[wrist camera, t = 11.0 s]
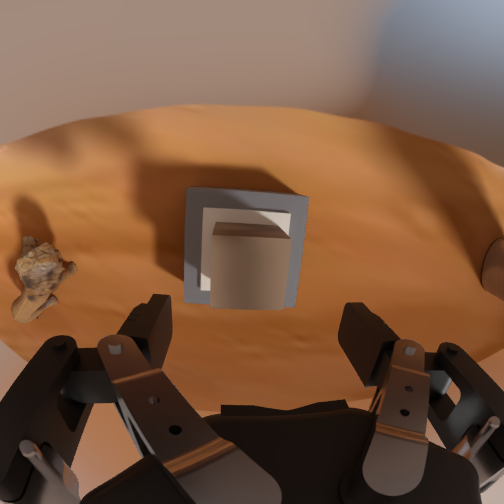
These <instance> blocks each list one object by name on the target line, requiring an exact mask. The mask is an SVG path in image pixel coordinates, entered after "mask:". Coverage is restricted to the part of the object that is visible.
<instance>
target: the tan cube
mask: <svg viewBox="0 0 504 504" xmlns="http://www.w3.org/2000/svg"><path fill="white" fill-rule="evenodd" d="M291 242H292V239H291V238H290V237H289V236H288V235H287V234H286V233H285V232H284V231H283V230H282V229H281V228H280V227H279V226H278V225H265V224H247V223H229V222H216V223H215V226H214V230H213V233H212V245H211V281H210V308H221V309H249V310H283V309H284V301H285V293H286V285H287V277H288V268H289V260H290V251H291Z"/></svg>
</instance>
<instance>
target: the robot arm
mask: <svg viewBox="0 0 504 504" xmlns="http://www.w3.org/2000/svg"><path fill="white" fill-rule="evenodd" d="M482 285H483V288H484V289H485V290H486V291H487V292H489V293H491V294H493V295H494V296H496V297H498V298H499V299H501V300H503V301H504V240H503V239H498V240H496V241H495V242H494V243H493V244H492V246H491V247H490V249H489V251H488V253H487V255H486V258H485V261H484V264H483V269H482ZM171 338H172V309H171V297H170V295H162V294H153V295H152V297H151V299H150V300H149V302H148V303H147V304H144V303H141V304H140V305H138V306H136V307H135V308H134V309H133V310H132V312H131V313H130V315H129V316H128V317H127V319H126V320H125V322H124V323H123V325H122V327H121V328H120V330H119V331H118V333H117V334H115V335H109V336H106V337H104V338H102V339H101V340H100V341H99V342H98V344H97V347H96V348H78V347H77V344H76V341H75V340H74V339H73V338H72V337H70V336H66V335H59V336H54V337H52V338H50V339H48V340H47V341H46V342H45V343H44V344H43V345H42V346H41V348H40V349H39V350H38V351H37V353H36V354H35V355H34V356H33V358H32V359H31V360H30V361H29V363H28V364H27V365H26V367H25V368H24V369H23V371H22V372H21V373H20V375H19V376H18V377H17V379H16V380H15V381H14V383H13V384H12V386H11V387H10V389H9V390H8V391H7V393H6V394H5V396H4V397H3V399H2V400H1V402H0V501H1V502H3V503H4V504H482V502H481V496H480V493H483V492H484V491H486V490H487V489H488V488H489V487H490V486H492V485H493V484H494V483H495V482H496V481H497V480H498V479H499V478H501V477H502V476H503V475H504V391H503V390H502V389H501V388H500V387H499V386H498V385H497V384H496V383H495V382H494V381H493V379H492V378H491V377H490V376H489V375H488V374H487V373H486V372H485V371H484V370H483V369H482V368H481V367H480V366H479V365H478V364H477V363H476V362H475V361H474V360H473V359H472V358H471V357H470V356H469V355H468V354H467V353H466V352H465V351H464V350H463V349H462V348H461V347H459V346H458V345H456V344H453V343H448V342H445V343H441V344H440V345H439V348H438V350H437V352H436V353H431V352H425V350H424V348H423V346H422V345H420V344H419V343H417V342H416V341H413V340H409V339H400V338H399V337H398V336H397V335H396V334H395V333H394V331H393V330H392V329H391V328H389V326H388V325H387V324H386V323H385V322H384V321H383V320H382V319H381V318H380V317H379V316H377V315H376V314H374V313H372V312H371V311H370V310H369V309H368V308H367V307H366V306H365V305H364V304H363V303H362V302H350V303H346V305H345V307H344V311H343V315H342V319H341V323H340V327H339V331H338V341H339V344H340V346H341V347H342V349H343V351H344V352H345V354H346V355H347V357H348V359H349V360H350V362H351V364H352V366H353V367H354V369H355V371H356V372H357V374H358V376H359V377H360V379H361V381H362V382H363V384H364V386H365V387H371V386H377V389H376V391H375V393H374V396H373V398H372V401H371V404H370V407H369V410H368V411H366V410H362V409H357V408H349V407H348V405H347V403H346V401H345V399H344V400H336V401H327V402H317V403H314V404H311V405H307V406H304V407H300V408H296V409H293V410H278V409H272V408H265V407H259V406H254V405H221V414H215V415H210V416H206V417H204V418H202V417H201V416H200V415H199V414H198V413H197V412H196V411H195V410H194V408H193V407H192V406H191V405H190V404H189V403H188V401H187V400H186V399H185V398H184V397H183V396H182V394H181V393H180V392H179V391H178V390H177V388H176V387H175V386H174V385H173V383H172V382H171V381H170V380H169V378H168V377H167V376H166V374H165V373H164V372H163V371H162V366H163V363H164V360H165V357H166V354H167V350H168V347H169V344H170V341H171ZM452 381H453V382H454V383H455V384H456V386H457V387H458V388H459V389H460V392H461V397H460V400H459V402H458V404H457V405H455V404H454V403H453V401H452V400H451V399H450V397H449V396H448V395H447V394H446V391H447V389H448V388H449V386H450V384H451V383H452ZM94 403H114V405H115V408H116V409H117V412H118V413H119V416H120V417H121V420H122V421H123V423H124V425H125V427H126V429H127V431H128V432H129V434H130V436H131V438H132V440H133V442H134V444H135V446H136V448H137V450H138V452H139V453H140V455H141V457H142V459H141V460H139V461H138V462H136V463H135V464H133V465H132V466H130V467H129V468H127V469H126V470H124V471H123V472H121V473H120V474H118V475H116V476H115V477H113V478H112V479H110V480H108V481H107V482H105V483H103V484H102V485H100V486H98V487H97V488H95V489H93V490H92V491H90V492H89V493H88V494H86V495H85V496H84V497H83V499H82V500H80V497H79V492H78V491H79V483H78V479H77V477H76V475H75V474H74V473H73V471H72V470H71V469H70V468H71V465H72V462H73V459H74V456H75V453H76V450H77V447H78V444H79V442H80V439H81V436H82V433H83V431H84V428H85V425H86V422H87V420H88V417H89V415H90V412H91V409H92V407H93V405H94ZM427 418H428V419H429V421H430V422H431V424H432V426H433V427H434V429H435V430H436V432H437V434H438V435H439V437H440V439H441V440H442V442H443V444H444V446H445V447H446V449H445V448H443V447H440V446H438V445H436V444H434V443H432V442H430V441H428V439H427V438H426V437H425V432H426V425H427Z"/></svg>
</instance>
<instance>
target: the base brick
mask: <svg viewBox="0 0 504 504" xmlns="http://www.w3.org/2000/svg"><path fill="white" fill-rule="evenodd" d="M308 202H309V197H307V196H304V195H300V194H294V193H284V192H273V191H261V190H248V189H233V188H216V187H195V186H193V187H189V188H186V207H185V237H184V303H196V304H210V281H211V245H212V233H213V230H214V226H215V223H216V222H229V223H247V224H265V225H278V226H279V227H280V228H281V229H282V230H283V231H284V232H285V233H286V234H287V235H288V236H289V237H290V238H291V239H292V242H291V251H290V260H289V268H288V277H287V285H286V293H285V301H284V307H295V302H296V295H297V289H298V282H299V275H300V268H301V261H302V253H303V245H304V237H305V229H306V220H307V211H308Z"/></svg>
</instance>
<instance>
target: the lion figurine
mask: <svg viewBox="0 0 504 504" xmlns="http://www.w3.org/2000/svg"><path fill="white" fill-rule="evenodd" d="M21 242H22V250H21V251H20V258H18V259H17V264H16V265H15V270H17V271H18V273H19V277H20V279H21V280H22V282H23V284H24V285H25V286H24V288H23V291H22V294H21V295H20V296H19V297H18V298H17V299H16V300H15V301H14V302H13V304H12V308H11V311H12V314H13V318H14V319H15V320H16V321H18V322H20V323H27V322H30V321H32V320H33V319H35V318H37V319H38V317H39V315H40V314H41V313H42V311H43V310H45V309H47V308H48V307H50V306H52V305H56V304H58V300H57V299H56V297H55V296H52V297H51V298H50V299H49V300H48V301H46V300H47V298H48V297H49V295H50V293H52V292H54V291H55V290H56V289H57V288H58V286H59V285H61V284H62V283H63V282H64V281H65V280H66V279H67V278H68V277H69V276H70V275H71V274H74V273H76V272H77V266H76V264H74V263H71V264H70V265H68V266H67V267H66V269H65V270H64V271H63V268H62V261H61V260H60V259H61V254H60V252H59V251H55V248H54V247H53V246H52V244H49V243H46V242H45V243H43V244H42V245H39V243H38V240H37V239H36V238H33V237H32V236H27V237H26V236H23V237H22V239H21ZM45 301H46V302H45ZM44 302H45V303H44Z"/></svg>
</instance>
